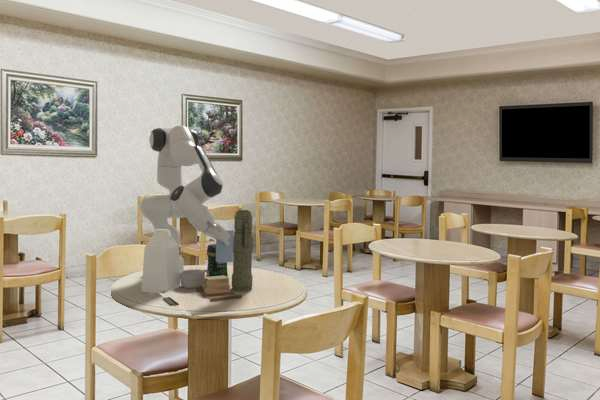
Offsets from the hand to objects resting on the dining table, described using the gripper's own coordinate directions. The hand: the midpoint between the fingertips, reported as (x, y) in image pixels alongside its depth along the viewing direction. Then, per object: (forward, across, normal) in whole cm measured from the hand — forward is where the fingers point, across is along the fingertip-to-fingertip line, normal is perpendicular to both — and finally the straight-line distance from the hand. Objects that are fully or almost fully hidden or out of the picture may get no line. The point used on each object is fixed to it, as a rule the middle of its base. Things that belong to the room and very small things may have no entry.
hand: (226, 243), depth 213 cm
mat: (+3, +4, +28) cm, 29 cm away
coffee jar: (+21, +24, +12) cm, 34 cm away
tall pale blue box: (+5, 0, +6) cm, 7 cm away
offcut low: (+15, +8, +16) cm, 23 cm away
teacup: (+13, +21, +20) cm, 32 cm away
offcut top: (+12, +8, +13) cm, 20 cm away
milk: (+3, +25, +29) cm, 39 cm away
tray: (+15, +3, +17) cm, 23 cm away
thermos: (+24, +8, +8) cm, 27 cm away
